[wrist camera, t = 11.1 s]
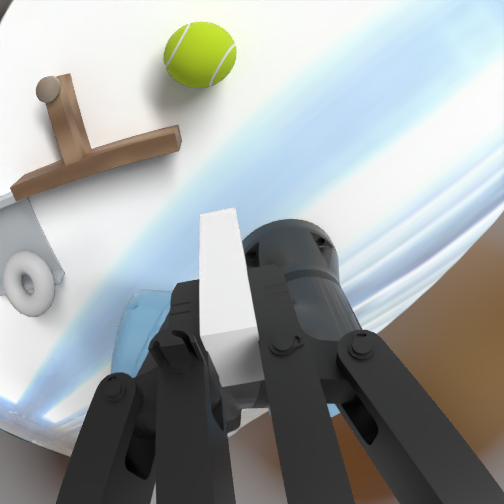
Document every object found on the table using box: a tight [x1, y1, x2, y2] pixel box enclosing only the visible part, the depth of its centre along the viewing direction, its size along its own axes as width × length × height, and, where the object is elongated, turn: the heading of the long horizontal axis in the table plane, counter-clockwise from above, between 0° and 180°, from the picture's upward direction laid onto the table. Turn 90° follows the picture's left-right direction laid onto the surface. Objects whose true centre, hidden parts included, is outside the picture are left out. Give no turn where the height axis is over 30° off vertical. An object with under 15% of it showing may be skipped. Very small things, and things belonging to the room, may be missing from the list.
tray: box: [0, 192, 65, 296], centre depth 37 cm, size 15×15×2 cm
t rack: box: [10, 74, 182, 201], centre depth 29 cm, size 12×22×5 cm, turn 99°
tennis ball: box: [164, 22, 236, 88], centre depth 26 cm, size 7×7×7 cm
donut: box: [3, 251, 55, 317], centre depth 38 cm, size 10×4×10 cm
